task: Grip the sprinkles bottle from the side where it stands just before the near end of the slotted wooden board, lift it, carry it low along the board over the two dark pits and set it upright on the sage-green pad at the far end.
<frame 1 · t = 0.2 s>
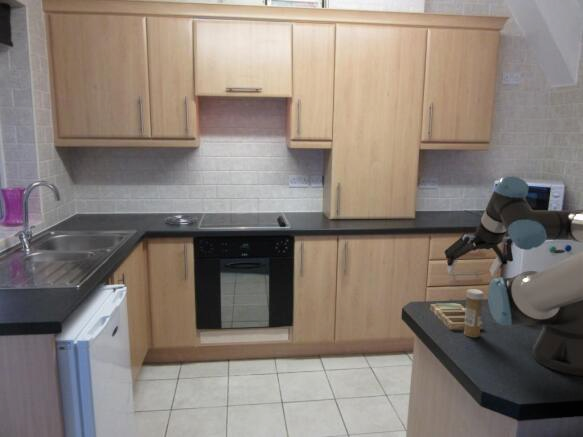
hand: (470, 272, 139), 16 cm above the counter, tool tilted 35°, fingers open, 13 cm apart
shot glass: (514, 316, 145), on the counter
sprinkles bottle: (471, 335, 130), on the counter
slotted wooden board: (454, 319, 141), on the counter
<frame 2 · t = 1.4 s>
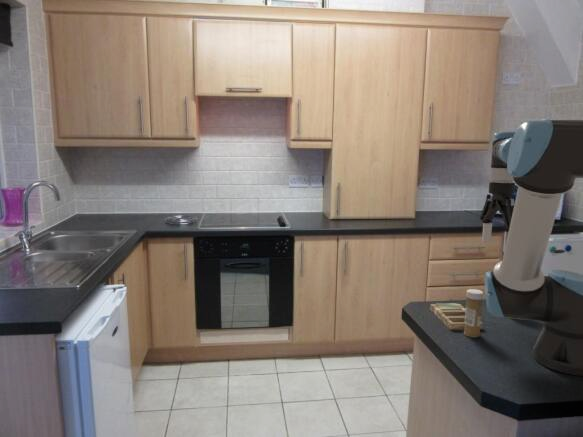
hand: (496, 247, 142), 23 cm above the counter, tool pointing down, fingers open, 13 cm apart
nothing on the counter moved.
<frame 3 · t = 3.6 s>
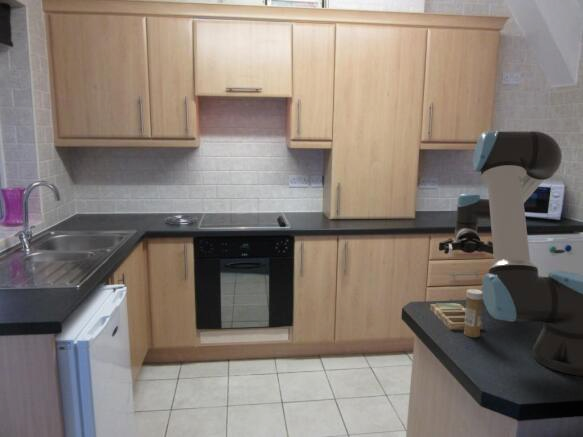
hand: (474, 254, 135), 22 cm above the counter, tool horizontal, fingers open, 13 cm apart
nothing on the counter moved.
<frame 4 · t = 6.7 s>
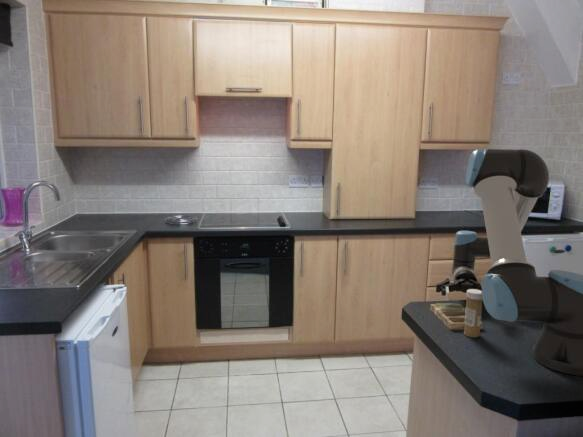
hand: (470, 299, 137), 8 cm above the counter, tool horizontal, fingers open, 13 cm apart
nothing on the counter moved.
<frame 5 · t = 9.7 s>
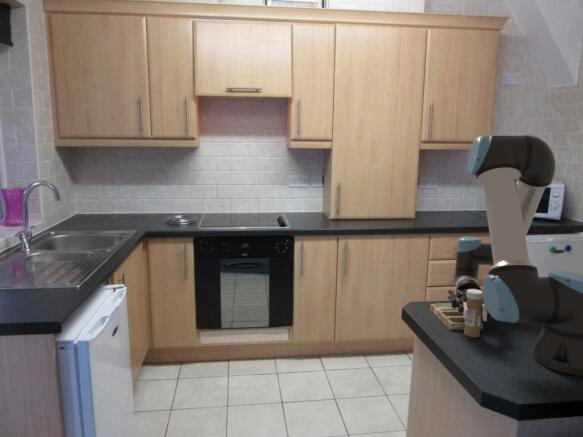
hand: (475, 315, 123), 8 cm above the counter, tool horizontal, fingers closed on sprinkles bottle, 4 cm apart
sprinkles bottle: (471, 335, 130), on the counter, touching gripper
everything else where it was.
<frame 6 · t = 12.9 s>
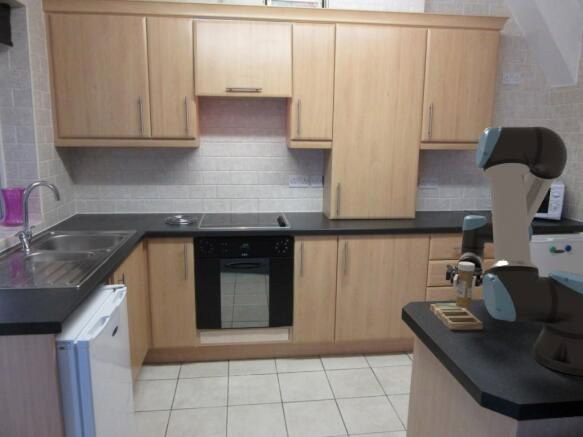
hand: (463, 285, 127), 15 cm above the counter, tool horizontal, fingers closed on sprinkles bottle, 4 cm apart
sprinkles bottle: (463, 306, 133), point 7 cm above the counter, touching gripper
everything else where it was.
when the fingers open (11 cm above the counter, at t = 16.5 s): sprinkles bottle stays where it is, resting on slotted wooden board.
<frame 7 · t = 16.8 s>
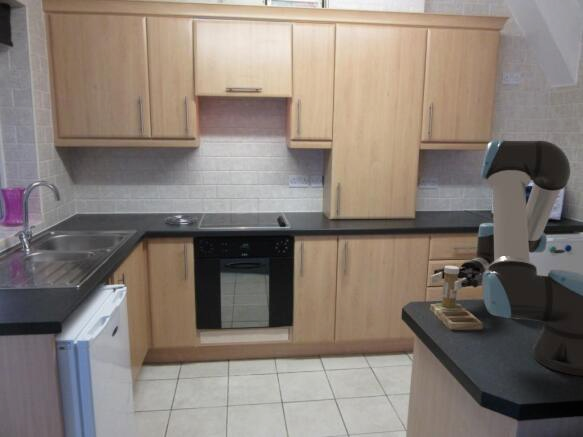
hand: (443, 283, 142), 11 cm above the counter, tool horizontal, fingers open, 8 cm apart
sprinkles bottle: (448, 306, 146), point 2 cm above the counter, touching slotted wooden board
everything else where it was.
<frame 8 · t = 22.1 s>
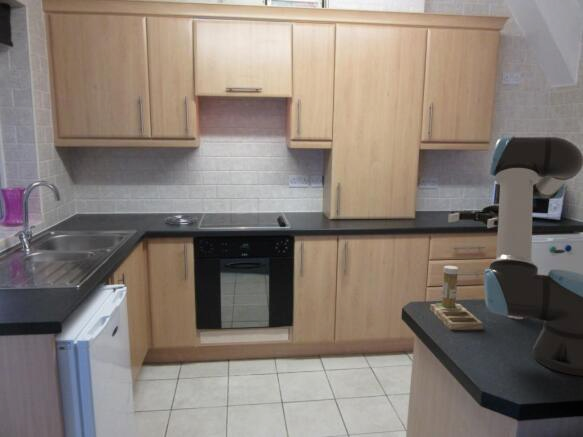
hand: (468, 221, 148), 30 cm above the counter, tool horizontal, fingers open, 13 cm apart
nothing on the counter moved.
at the end: sprinkles bottle 0.0 cm from the target spot, point 2.1 cm above the counter; sprinkles bottle tilted 0°; the gripper is holding nothing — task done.
